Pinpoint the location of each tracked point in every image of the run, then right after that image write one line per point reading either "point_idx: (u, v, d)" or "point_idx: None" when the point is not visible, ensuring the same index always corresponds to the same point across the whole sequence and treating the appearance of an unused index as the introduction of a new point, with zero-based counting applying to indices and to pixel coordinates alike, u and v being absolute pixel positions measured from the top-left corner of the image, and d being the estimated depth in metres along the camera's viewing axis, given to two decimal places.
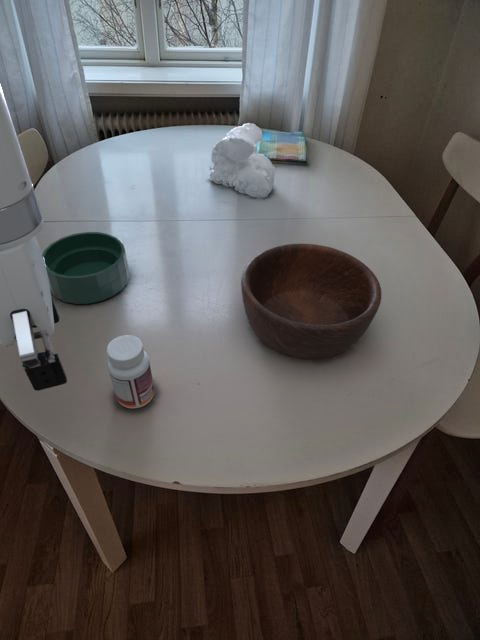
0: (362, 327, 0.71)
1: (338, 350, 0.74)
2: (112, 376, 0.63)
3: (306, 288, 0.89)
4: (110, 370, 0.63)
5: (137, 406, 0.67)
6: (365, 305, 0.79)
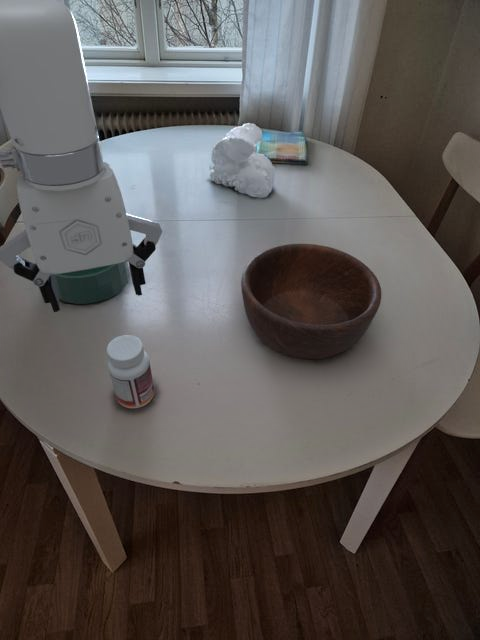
0: (362, 327, 0.71)
1: (338, 350, 0.74)
2: (112, 376, 0.63)
3: (306, 288, 0.89)
4: (110, 370, 0.63)
5: (137, 406, 0.67)
6: (365, 305, 0.79)
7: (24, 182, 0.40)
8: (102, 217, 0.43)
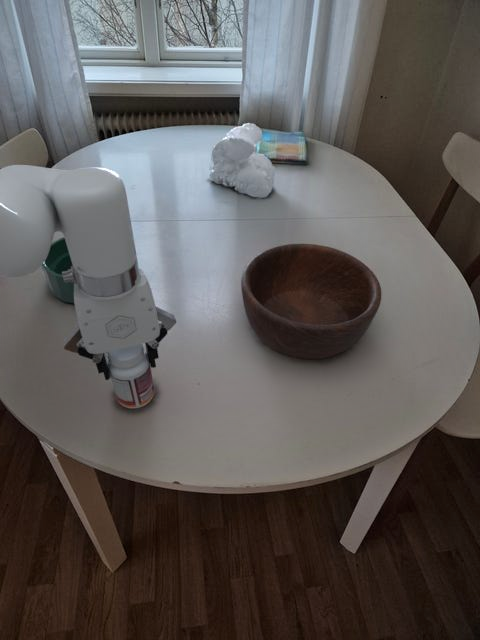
0: (362, 327, 0.71)
1: (338, 350, 0.74)
2: (112, 376, 0.63)
3: (306, 288, 0.89)
4: (110, 370, 0.63)
5: (137, 406, 0.67)
6: (365, 305, 0.79)
7: (80, 291, 0.52)
8: (138, 312, 0.56)
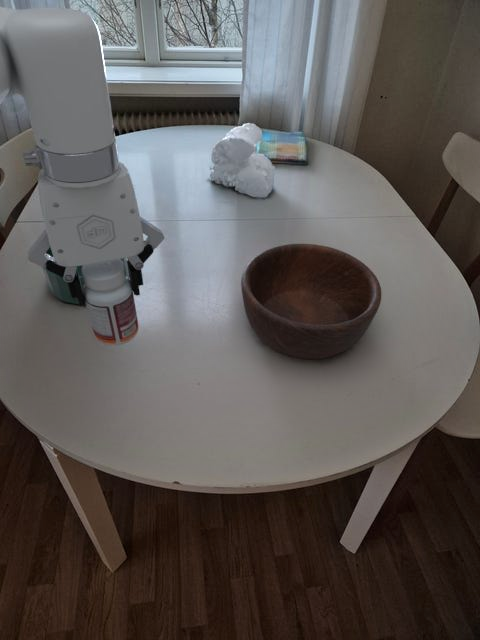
0: (362, 327, 0.71)
1: (338, 350, 0.74)
2: (88, 302, 0.54)
3: (306, 288, 0.89)
4: (85, 295, 0.54)
5: (118, 343, 0.58)
6: (365, 305, 0.79)
7: (45, 179, 0.43)
8: (117, 213, 0.46)
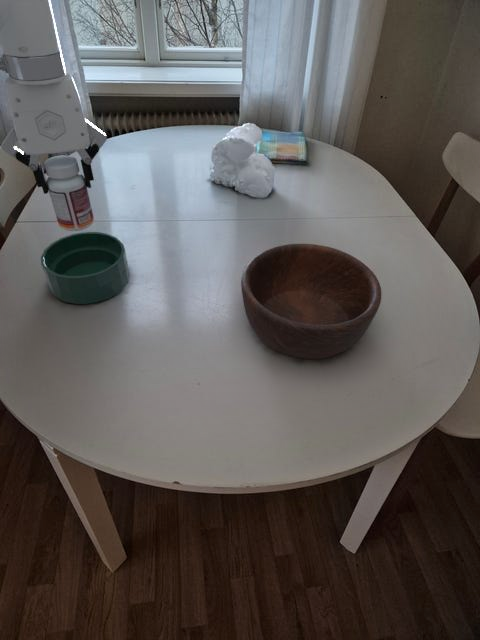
0: (362, 327, 0.71)
1: (338, 350, 0.74)
2: (50, 190, 0.70)
3: (306, 288, 0.89)
4: (48, 184, 0.70)
5: (76, 228, 0.74)
6: (365, 305, 0.79)
7: (10, 81, 0.59)
8: (65, 110, 0.62)
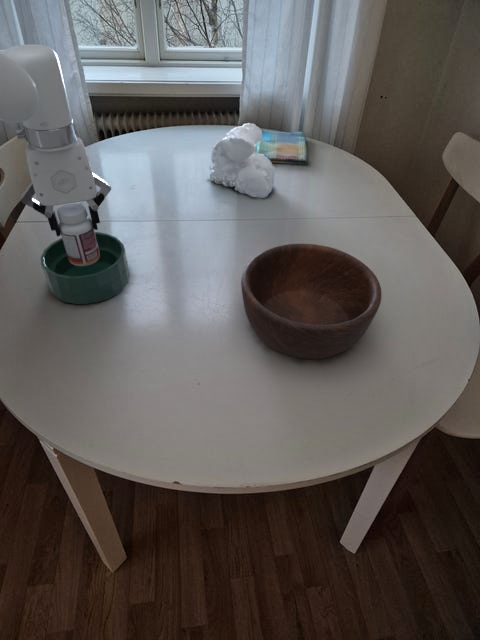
0: (362, 327, 0.71)
1: (338, 350, 0.74)
2: (62, 233, 0.81)
3: (306, 288, 0.89)
4: (60, 228, 0.81)
5: (84, 264, 0.85)
6: (365, 305, 0.79)
7: (30, 147, 0.70)
8: (76, 169, 0.73)
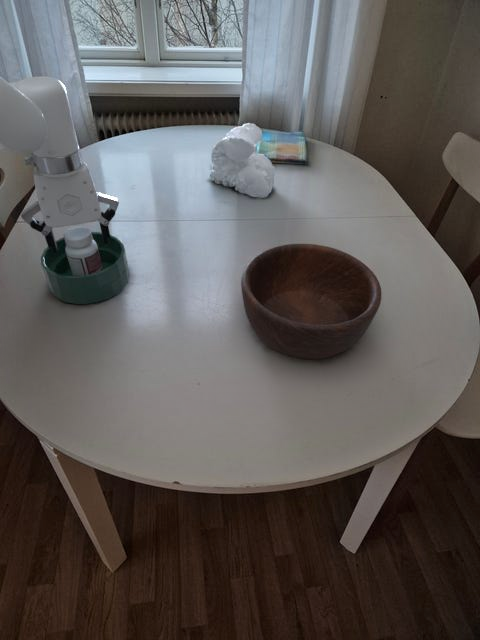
0: (362, 327, 0.71)
1: (338, 350, 0.74)
2: (68, 256, 0.84)
3: (306, 288, 0.89)
4: (66, 251, 0.84)
5: None
6: (365, 305, 0.79)
7: (37, 172, 0.73)
8: (82, 193, 0.76)
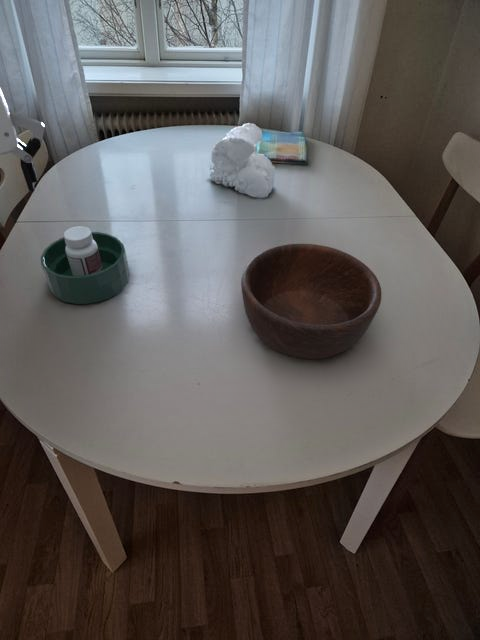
0: (362, 327, 0.71)
1: (338, 350, 0.74)
2: (68, 256, 0.84)
3: (306, 288, 0.89)
4: (66, 251, 0.84)
5: None
6: (365, 305, 0.79)
7: None
8: None
